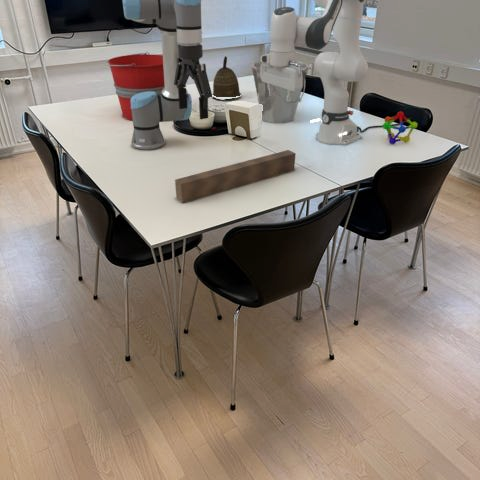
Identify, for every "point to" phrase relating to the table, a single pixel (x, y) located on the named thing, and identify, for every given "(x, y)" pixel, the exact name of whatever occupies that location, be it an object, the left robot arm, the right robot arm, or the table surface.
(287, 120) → the bucket
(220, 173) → the beam
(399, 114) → the educational toy
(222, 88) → the bell
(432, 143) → the table surface
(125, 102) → the bucket
